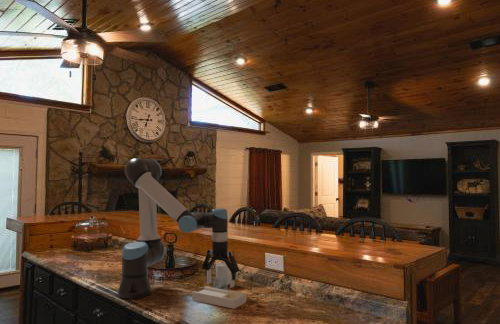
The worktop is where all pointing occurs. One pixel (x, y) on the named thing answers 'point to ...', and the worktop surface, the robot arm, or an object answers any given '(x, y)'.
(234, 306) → the box with sliding lid
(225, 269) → the white cup
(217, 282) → the clip
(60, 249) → the worktop surface
